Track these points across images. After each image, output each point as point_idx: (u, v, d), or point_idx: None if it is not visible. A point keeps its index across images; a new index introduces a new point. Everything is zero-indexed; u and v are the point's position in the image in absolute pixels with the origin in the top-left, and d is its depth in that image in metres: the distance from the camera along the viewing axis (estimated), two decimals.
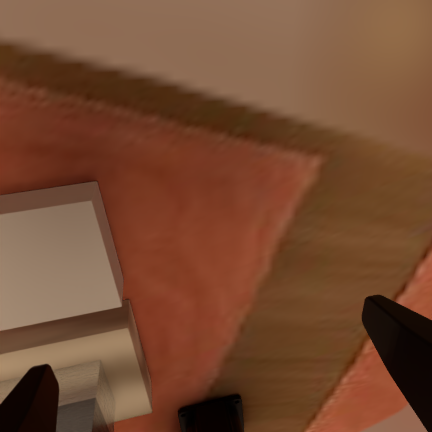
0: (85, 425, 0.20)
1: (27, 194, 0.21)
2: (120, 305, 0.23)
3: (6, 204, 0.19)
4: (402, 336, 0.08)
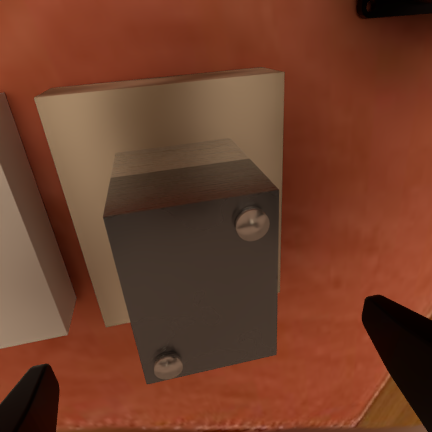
0: None
1: None
2: None
3: None
4: (402, 336, 0.08)
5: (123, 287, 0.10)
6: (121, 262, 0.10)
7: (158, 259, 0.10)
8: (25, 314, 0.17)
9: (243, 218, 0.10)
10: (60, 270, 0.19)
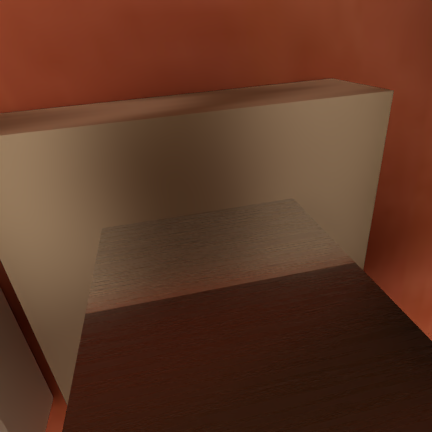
0: None
1: None
2: None
3: None
4: None
5: None
6: None
7: None
8: None
9: None
10: (25, 374, 0.13)
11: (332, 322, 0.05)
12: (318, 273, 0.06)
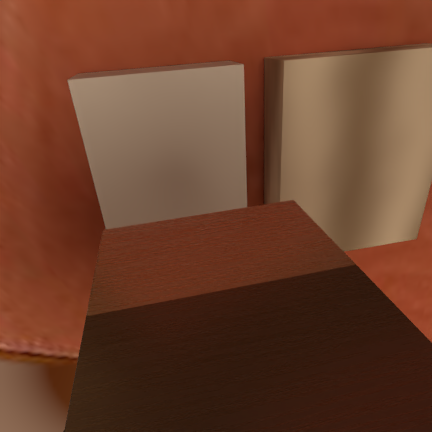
0: None
1: None
2: (241, 66, 0.16)
3: None
4: None
5: None
6: None
7: None
8: None
9: None
10: None
11: (333, 325, 0.05)
12: (319, 275, 0.06)
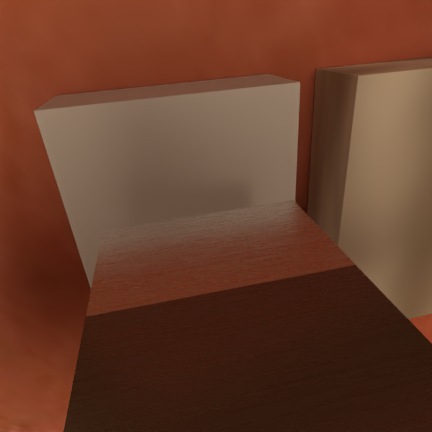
0: None
1: None
2: (296, 84, 0.11)
3: None
4: None
5: None
6: None
7: None
8: None
9: None
10: None
11: (333, 325, 0.05)
12: (319, 276, 0.06)
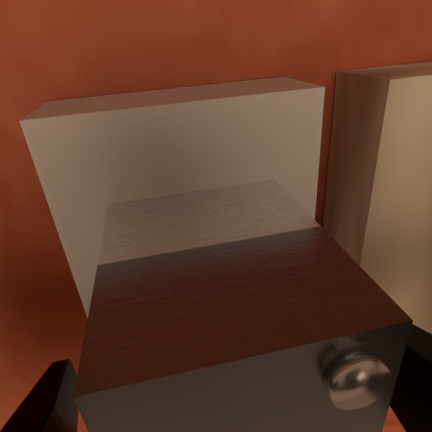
0: None
1: None
2: (320, 89, 0.09)
3: None
4: None
5: None
6: None
7: None
8: None
9: (347, 379, 0.05)
10: None
11: (296, 267, 0.06)
12: (289, 234, 0.08)
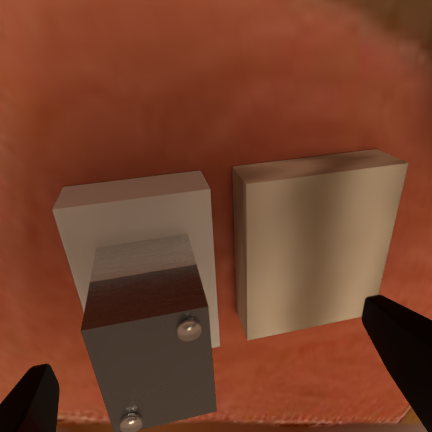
0: None
1: None
2: (208, 190, 0.18)
3: None
4: (402, 336, 0.08)
5: (96, 372, 0.14)
6: (94, 357, 0.14)
7: (121, 353, 0.14)
8: None
9: (181, 327, 0.14)
10: None
11: (175, 284, 0.15)
12: (180, 268, 0.16)
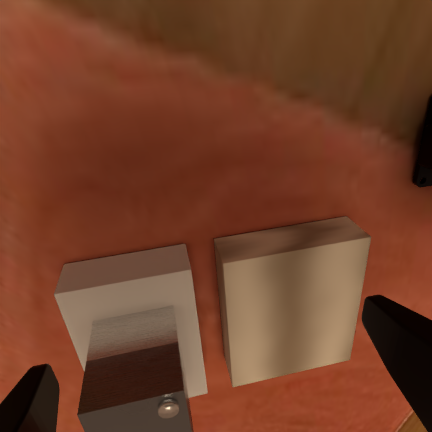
0: None
1: None
2: (189, 270, 0.21)
3: None
4: (402, 336, 0.08)
5: None
6: None
7: (112, 429, 0.17)
8: None
9: (161, 408, 0.16)
10: None
11: (158, 365, 0.18)
12: (163, 346, 0.19)
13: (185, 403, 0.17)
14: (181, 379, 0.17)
